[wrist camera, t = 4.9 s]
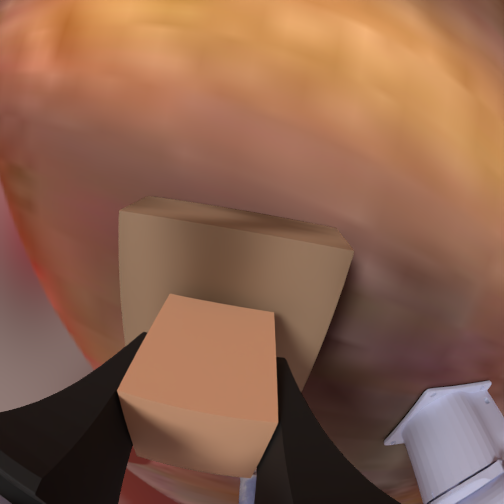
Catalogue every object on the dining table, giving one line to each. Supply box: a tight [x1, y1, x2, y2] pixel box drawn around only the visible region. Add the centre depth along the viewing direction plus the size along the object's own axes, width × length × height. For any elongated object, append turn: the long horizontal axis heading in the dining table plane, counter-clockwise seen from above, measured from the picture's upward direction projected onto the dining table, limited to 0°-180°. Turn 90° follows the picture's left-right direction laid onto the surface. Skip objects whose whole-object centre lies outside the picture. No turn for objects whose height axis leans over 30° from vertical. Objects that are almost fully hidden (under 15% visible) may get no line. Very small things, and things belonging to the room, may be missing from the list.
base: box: [119, 196, 354, 392], centre depth 13 cm, size 9×9×3 cm
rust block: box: [117, 294, 278, 478], centre depth 9 cm, size 4×4×5 cm
